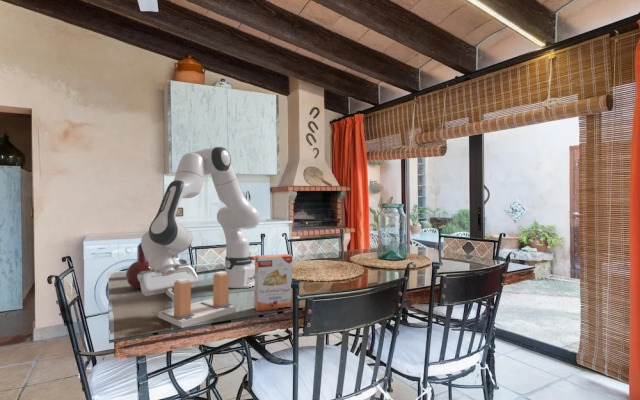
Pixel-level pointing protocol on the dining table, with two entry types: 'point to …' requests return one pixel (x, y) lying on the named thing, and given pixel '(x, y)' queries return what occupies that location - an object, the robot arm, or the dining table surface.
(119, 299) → the dining table surface
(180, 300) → the orange rectangular block
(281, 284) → the cracker box
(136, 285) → the round-bottom flask
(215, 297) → the tan tall bar
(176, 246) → the robot arm
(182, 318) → the white base plate
